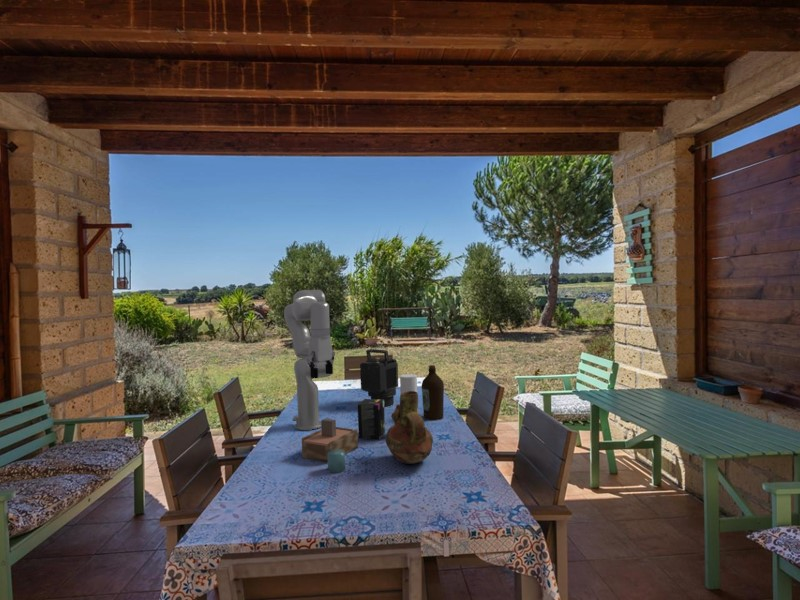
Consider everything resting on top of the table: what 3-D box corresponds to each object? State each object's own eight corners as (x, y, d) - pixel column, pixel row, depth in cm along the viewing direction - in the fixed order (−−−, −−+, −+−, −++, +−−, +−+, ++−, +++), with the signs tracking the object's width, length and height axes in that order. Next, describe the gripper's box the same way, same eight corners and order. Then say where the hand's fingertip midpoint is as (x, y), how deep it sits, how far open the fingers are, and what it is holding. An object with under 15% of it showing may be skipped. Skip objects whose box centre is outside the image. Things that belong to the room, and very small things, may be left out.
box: (331, 443, 189) (330, 425, 188) (357, 447, 183) (357, 428, 182) (302, 458, 173) (301, 438, 173) (330, 463, 167) (329, 442, 167)
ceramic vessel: (415, 445, 183) (413, 382, 182) (447, 467, 159) (445, 395, 159) (374, 452, 176) (372, 387, 176) (401, 477, 152) (399, 401, 152)
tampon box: (379, 440, 191) (378, 404, 190) (358, 439, 193) (356, 404, 192) (385, 432, 201) (384, 398, 201) (365, 431, 203) (364, 398, 203)
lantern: (401, 402, 253) (399, 347, 252) (383, 410, 238) (381, 352, 237) (379, 399, 261) (377, 346, 260) (359, 407, 246) (357, 350, 245)
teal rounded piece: (324, 471, 159) (323, 454, 159) (334, 465, 165) (334, 448, 164) (338, 474, 157) (338, 456, 156) (348, 467, 162) (348, 450, 162)
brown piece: (329, 430, 186) (329, 413, 186) (352, 433, 181) (352, 416, 181) (303, 442, 172) (303, 424, 172) (327, 446, 167) (327, 427, 167)
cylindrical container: (406, 437, 193) (404, 377, 192) (398, 433, 199) (397, 375, 199) (421, 434, 196) (419, 376, 196) (413, 430, 202) (411, 373, 202)
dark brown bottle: (438, 413, 229) (436, 363, 228) (448, 418, 219) (447, 366, 219) (418, 416, 225) (417, 365, 224) (428, 421, 215) (427, 368, 214)
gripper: (325, 331, 195) (327, 372, 195) (298, 335, 179) (300, 379, 179) (340, 331, 191) (342, 372, 191) (314, 335, 176) (316, 380, 176)
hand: (322, 375), depth 185 cm, fingers open, 9 cm apart
